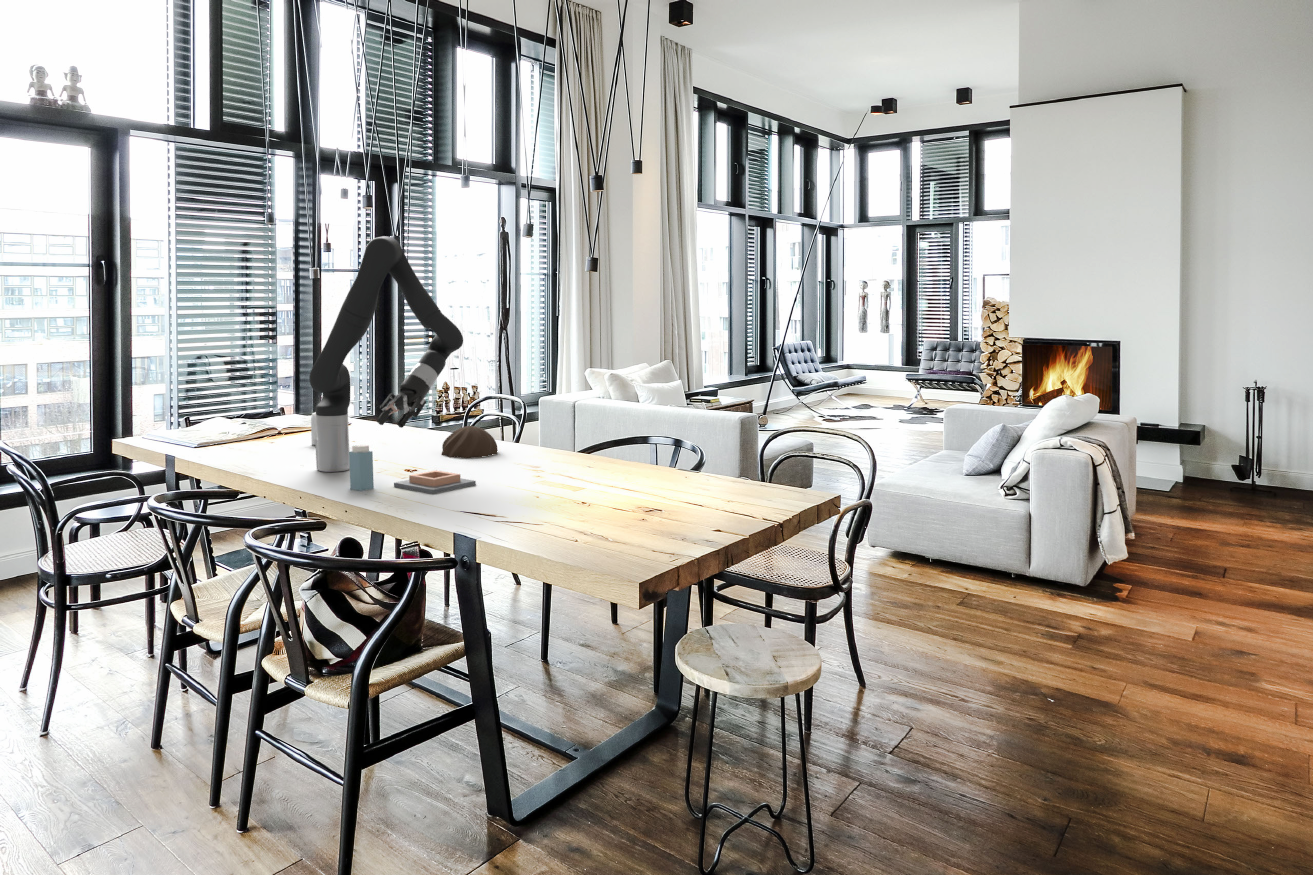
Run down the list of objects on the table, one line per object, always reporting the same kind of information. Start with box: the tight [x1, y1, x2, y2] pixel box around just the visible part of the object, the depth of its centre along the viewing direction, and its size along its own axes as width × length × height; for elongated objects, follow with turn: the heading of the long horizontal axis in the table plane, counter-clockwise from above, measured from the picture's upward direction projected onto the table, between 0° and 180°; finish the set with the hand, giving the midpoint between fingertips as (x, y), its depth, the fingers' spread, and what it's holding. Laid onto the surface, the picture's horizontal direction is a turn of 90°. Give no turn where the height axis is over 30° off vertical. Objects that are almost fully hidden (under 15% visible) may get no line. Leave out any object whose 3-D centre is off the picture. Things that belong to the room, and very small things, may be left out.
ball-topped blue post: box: [349, 444, 375, 492], centre depth 249 cm, size 4×4×12 cm
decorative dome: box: [440, 425, 499, 459], centre depth 311 cm, size 19×20×10 cm
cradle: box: [393, 469, 477, 495], centre depth 255 cm, size 16×16×3 cm
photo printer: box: [310, 411, 317, 446], centre depth 326 cm, size 10×4×12 cm, turn 123°
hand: (389, 424), depth 256 cm, fingers open, 8 cm apart
